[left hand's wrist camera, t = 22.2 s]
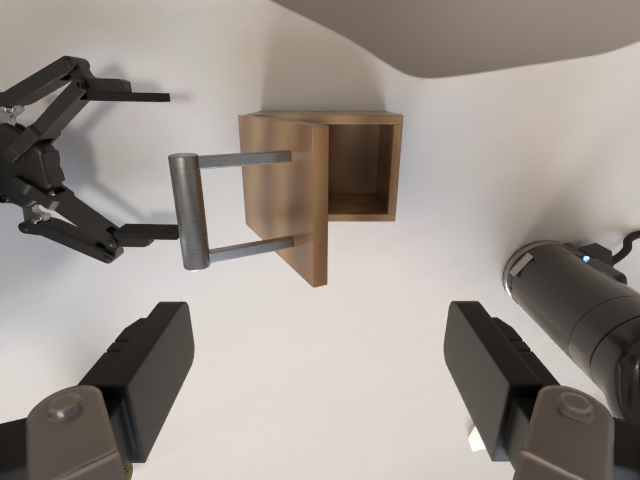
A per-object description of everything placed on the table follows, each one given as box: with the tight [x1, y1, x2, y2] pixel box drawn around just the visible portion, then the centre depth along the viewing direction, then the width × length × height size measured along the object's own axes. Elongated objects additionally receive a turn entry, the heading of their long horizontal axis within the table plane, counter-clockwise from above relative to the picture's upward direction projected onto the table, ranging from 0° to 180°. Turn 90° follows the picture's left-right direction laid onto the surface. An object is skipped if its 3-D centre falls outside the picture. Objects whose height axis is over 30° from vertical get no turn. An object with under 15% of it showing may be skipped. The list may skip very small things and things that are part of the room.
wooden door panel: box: [168, 115, 329, 288], centre depth 27 cm, size 15×10×8 cm
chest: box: [247, 111, 403, 222], centre depth 40 cm, size 14×10×9 cm
